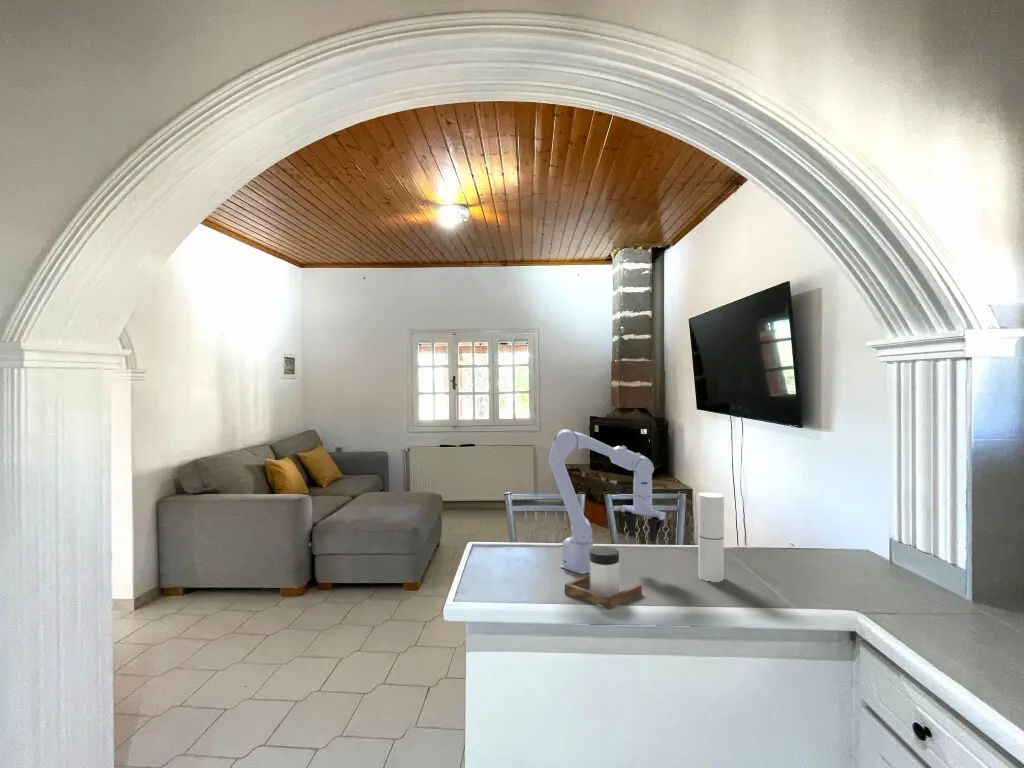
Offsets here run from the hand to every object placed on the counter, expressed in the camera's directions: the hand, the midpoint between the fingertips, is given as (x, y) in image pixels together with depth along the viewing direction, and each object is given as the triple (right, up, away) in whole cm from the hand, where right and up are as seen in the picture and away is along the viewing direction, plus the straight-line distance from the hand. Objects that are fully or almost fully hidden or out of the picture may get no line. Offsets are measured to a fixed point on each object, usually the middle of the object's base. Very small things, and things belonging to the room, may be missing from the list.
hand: (642, 538), depth 173 cm
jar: (-15, -10, -19) cm, 26 cm away
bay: (-15, -10, -19) cm, 26 cm away
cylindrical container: (+19, -10, -7) cm, 23 cm away
